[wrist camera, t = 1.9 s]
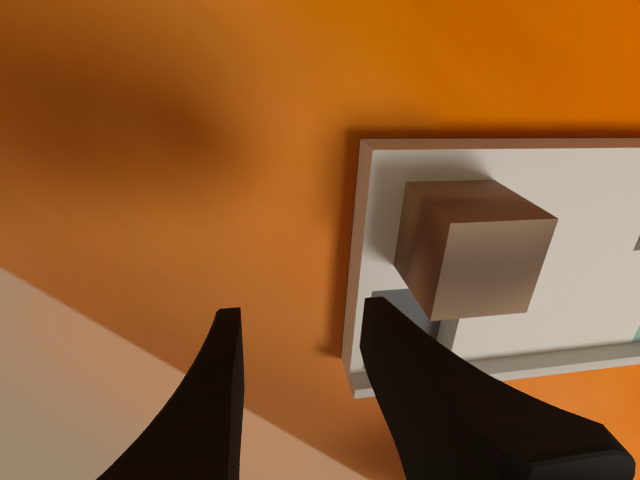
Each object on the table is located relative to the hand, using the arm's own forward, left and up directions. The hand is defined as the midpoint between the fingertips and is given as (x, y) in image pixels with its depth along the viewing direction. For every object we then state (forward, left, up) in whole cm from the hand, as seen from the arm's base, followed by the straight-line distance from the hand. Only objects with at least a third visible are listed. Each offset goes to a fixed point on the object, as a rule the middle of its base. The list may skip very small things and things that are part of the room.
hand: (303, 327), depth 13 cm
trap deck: (-3, -17, -9) cm, 19 cm away
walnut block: (0, -8, -7) cm, 11 cm away
